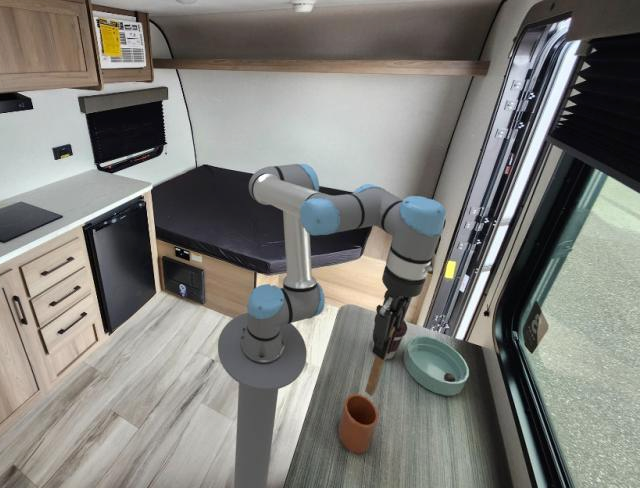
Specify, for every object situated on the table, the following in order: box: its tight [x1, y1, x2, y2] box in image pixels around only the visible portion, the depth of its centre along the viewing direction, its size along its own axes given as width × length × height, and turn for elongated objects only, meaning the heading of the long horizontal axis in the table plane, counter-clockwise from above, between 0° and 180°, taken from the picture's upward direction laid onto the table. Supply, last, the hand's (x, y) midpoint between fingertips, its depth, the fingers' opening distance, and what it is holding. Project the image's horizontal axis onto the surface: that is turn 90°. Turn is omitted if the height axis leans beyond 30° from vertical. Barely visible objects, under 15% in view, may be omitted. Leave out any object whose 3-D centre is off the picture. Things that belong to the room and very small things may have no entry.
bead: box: [444, 373, 455, 382], centre depth 98 cm, size 3×3×3 cm
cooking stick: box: [364, 326, 395, 397], centre depth 73 cm, size 2×2×22 cm
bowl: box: [403, 335, 470, 397], centre depth 101 cm, size 17×17×6 cm
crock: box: [337, 393, 379, 454], centre depth 82 cm, size 8×8×11 cm
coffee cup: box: [371, 313, 408, 360], centre depth 106 cm, size 10×10×15 cm
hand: (381, 352), depth 72 cm, fingers closed on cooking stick, 2 cm apart
